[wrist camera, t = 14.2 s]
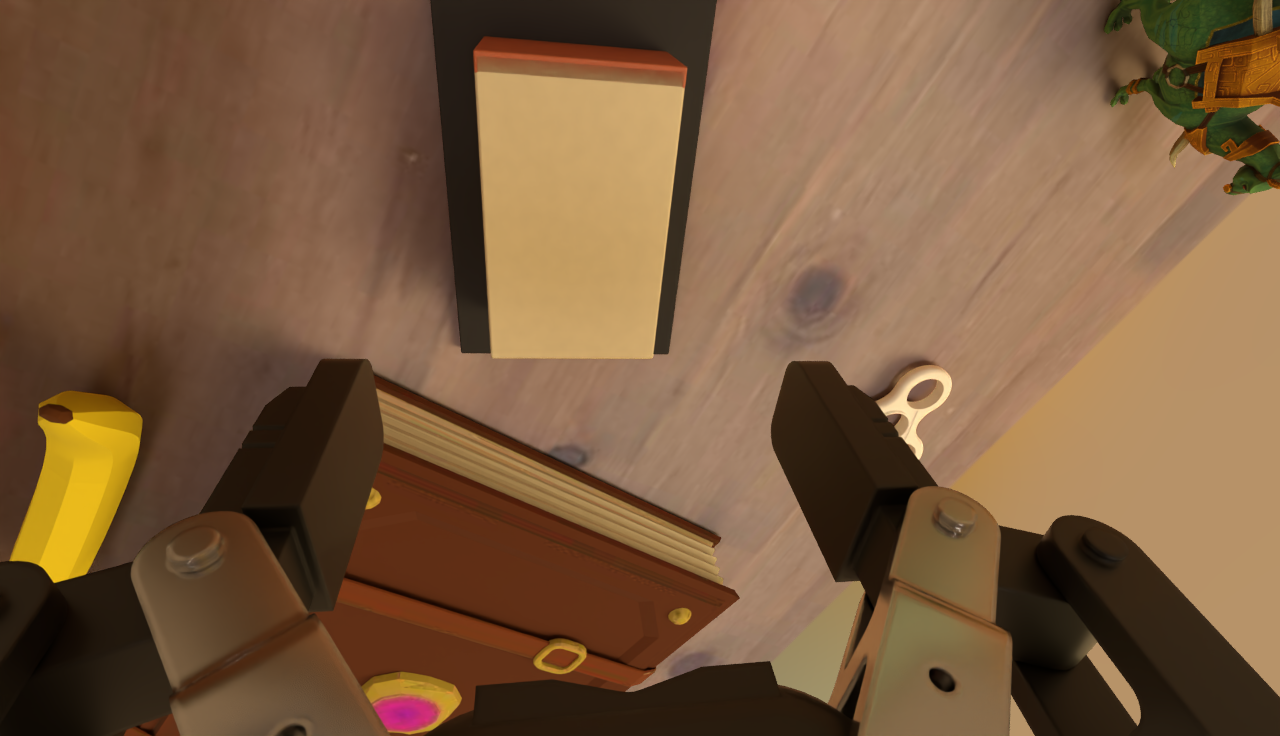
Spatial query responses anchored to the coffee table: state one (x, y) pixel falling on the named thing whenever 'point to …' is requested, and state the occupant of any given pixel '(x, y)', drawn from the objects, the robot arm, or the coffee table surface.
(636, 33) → the felt pad
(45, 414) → the banana
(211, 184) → the coffee table surface
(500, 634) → the book
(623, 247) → the top book
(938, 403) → the fidget spinner
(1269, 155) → the figurine
